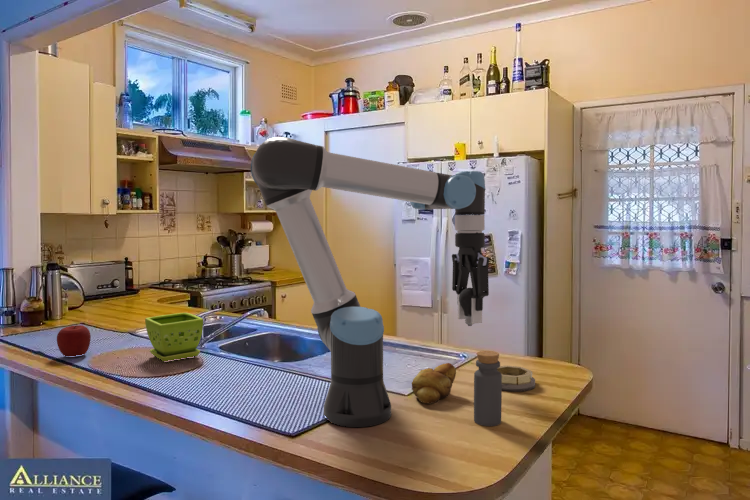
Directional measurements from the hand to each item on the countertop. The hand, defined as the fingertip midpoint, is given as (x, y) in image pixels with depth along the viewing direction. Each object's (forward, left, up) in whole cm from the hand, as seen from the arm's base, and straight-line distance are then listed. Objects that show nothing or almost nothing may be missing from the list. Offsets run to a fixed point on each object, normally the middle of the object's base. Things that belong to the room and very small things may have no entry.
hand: (469, 320), depth 144 cm
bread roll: (-14, -4, -17) cm, 23 cm away
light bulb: (0, 0, -2) cm, 2 cm away
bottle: (-11, -23, -17) cm, 31 cm away
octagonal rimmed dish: (+10, -5, -17) cm, 20 cm away
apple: (-97, +77, -17) cm, 125 cm away
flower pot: (-68, +62, -17) cm, 94 cm away
